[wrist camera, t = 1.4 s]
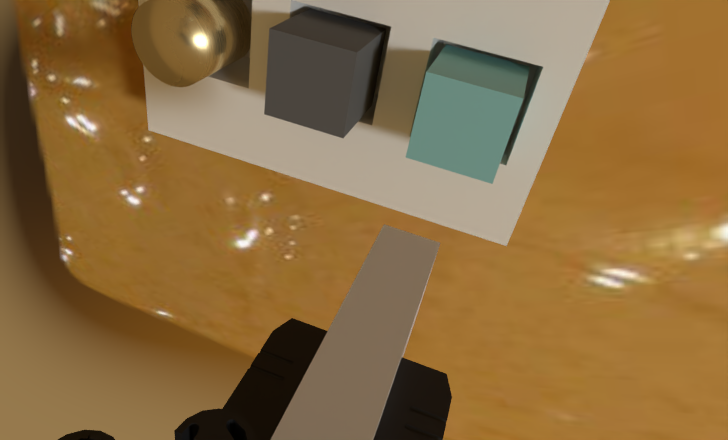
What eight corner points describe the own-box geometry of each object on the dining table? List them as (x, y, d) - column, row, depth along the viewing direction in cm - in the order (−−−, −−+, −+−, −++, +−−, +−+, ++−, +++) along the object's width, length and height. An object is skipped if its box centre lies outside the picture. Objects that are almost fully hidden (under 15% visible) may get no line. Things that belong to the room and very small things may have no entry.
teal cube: (446, 44, 25) (426, 71, 21) (529, 66, 24) (523, 98, 20) (426, 121, 27) (405, 157, 23) (502, 143, 26) (492, 184, 23)
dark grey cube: (310, 8, 26) (269, 28, 22) (386, 28, 25) (357, 52, 22) (302, 84, 28) (264, 114, 25) (372, 105, 28) (343, 138, 24)
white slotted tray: (189, -146, 27) (125, -152, 23) (615, -51, 24) (625, -38, 20) (195, 102, 35) (148, 130, 31) (513, 200, 32) (506, 245, 28)
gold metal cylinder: (185, -25, 27) (127, -11, 23) (255, -7, 26) (206, 10, 23) (187, 51, 29) (135, 74, 26) (252, 70, 29) (207, 96, 25)
